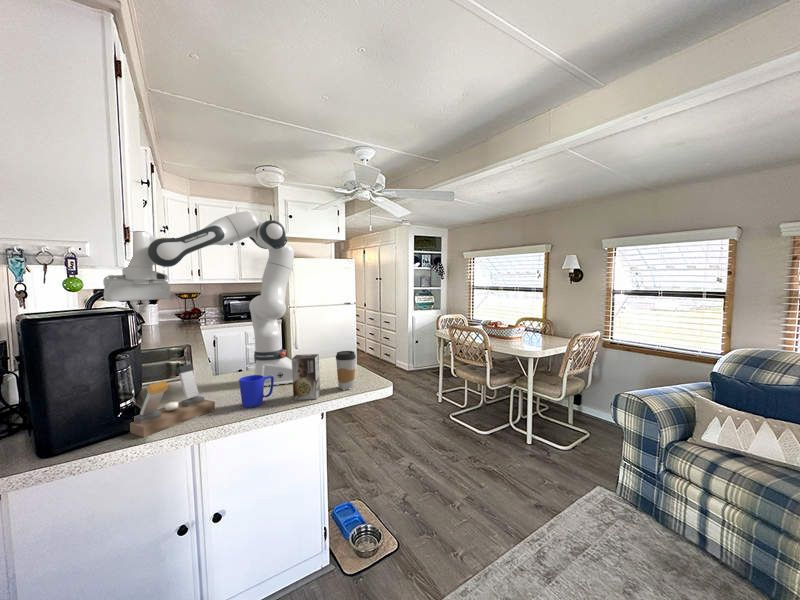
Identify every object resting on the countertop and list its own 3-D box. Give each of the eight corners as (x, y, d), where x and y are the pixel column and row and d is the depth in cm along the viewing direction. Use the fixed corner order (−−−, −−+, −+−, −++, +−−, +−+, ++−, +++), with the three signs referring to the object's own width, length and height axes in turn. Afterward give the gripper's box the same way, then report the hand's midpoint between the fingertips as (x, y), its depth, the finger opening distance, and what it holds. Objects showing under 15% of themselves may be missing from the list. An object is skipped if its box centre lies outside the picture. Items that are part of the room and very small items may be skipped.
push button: (174, 405, 109) (173, 401, 109) (180, 407, 107) (180, 402, 107) (162, 409, 105) (162, 404, 105) (169, 411, 104) (169, 406, 104)
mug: (278, 401, 121) (277, 375, 121) (245, 411, 113) (244, 382, 112) (269, 396, 127) (268, 371, 126) (236, 405, 118) (235, 378, 118)
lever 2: (196, 395, 115) (188, 365, 116) (200, 394, 114) (192, 363, 115) (184, 399, 111) (175, 368, 112) (187, 398, 110) (179, 366, 111)
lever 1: (154, 407, 102) (165, 380, 99) (158, 412, 101) (168, 385, 98) (138, 412, 98) (148, 384, 95) (142, 417, 97) (152, 389, 94)
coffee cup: (358, 385, 140) (358, 350, 139) (352, 391, 131) (351, 355, 131) (340, 384, 141) (339, 350, 140) (333, 390, 133) (332, 354, 132)
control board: (194, 405, 119) (194, 393, 119) (214, 409, 114) (214, 397, 114) (123, 430, 99) (122, 416, 99) (144, 437, 94) (143, 422, 94)
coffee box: (320, 393, 129) (319, 353, 129) (316, 399, 123) (315, 357, 122) (297, 394, 129) (296, 354, 128) (292, 400, 123) (291, 358, 122)
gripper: (108, 274, 109) (110, 315, 110) (172, 275, 128) (173, 310, 129) (98, 275, 112) (100, 315, 113) (162, 276, 131) (164, 310, 131)
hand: (140, 312), depth 121 cm, fingers closed
